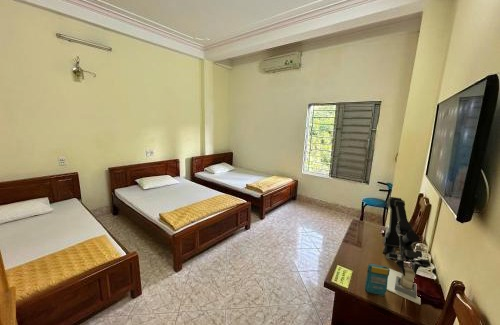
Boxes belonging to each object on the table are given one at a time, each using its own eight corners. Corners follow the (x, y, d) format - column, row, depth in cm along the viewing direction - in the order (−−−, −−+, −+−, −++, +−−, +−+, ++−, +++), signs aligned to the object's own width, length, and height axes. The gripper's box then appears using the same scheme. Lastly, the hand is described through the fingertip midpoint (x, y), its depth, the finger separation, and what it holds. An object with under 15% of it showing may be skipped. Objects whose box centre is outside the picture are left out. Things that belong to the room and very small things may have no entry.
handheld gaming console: (383, 291, 112) (388, 266, 109) (386, 297, 108) (391, 272, 105) (363, 287, 114) (368, 263, 111) (365, 293, 110) (370, 268, 107)
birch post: (400, 282, 115) (403, 266, 113) (408, 284, 114) (412, 268, 112) (402, 287, 112) (406, 271, 110) (411, 290, 110) (415, 274, 108)
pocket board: (389, 269, 128) (389, 264, 128) (420, 281, 119) (421, 276, 119) (385, 289, 113) (386, 284, 112) (420, 304, 104) (421, 299, 103)
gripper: (391, 239, 115) (393, 270, 107) (433, 247, 108) (438, 280, 101) (385, 244, 124) (386, 272, 116) (423, 252, 117) (427, 282, 110)
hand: (409, 277), depth 110 cm, fingers closed on birch post, 4 cm apart
